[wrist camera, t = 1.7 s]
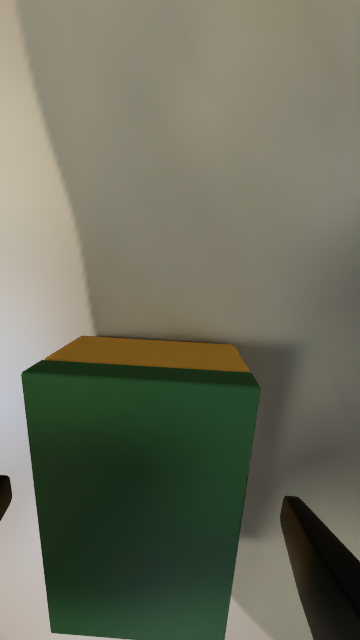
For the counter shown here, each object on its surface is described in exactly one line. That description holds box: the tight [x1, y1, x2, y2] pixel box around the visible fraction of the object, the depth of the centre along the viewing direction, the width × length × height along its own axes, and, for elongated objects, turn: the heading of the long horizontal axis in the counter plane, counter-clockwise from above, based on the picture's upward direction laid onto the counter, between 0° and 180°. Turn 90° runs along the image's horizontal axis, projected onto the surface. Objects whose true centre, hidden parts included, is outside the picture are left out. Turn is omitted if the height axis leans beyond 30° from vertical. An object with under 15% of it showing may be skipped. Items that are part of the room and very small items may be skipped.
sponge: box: [21, 336, 261, 640], centre depth 7 cm, size 9×6×3 cm, turn 177°
